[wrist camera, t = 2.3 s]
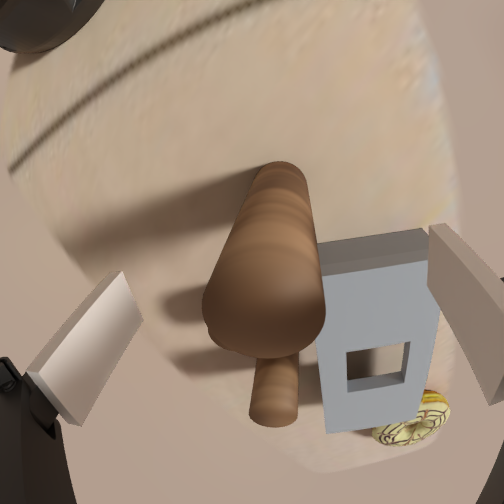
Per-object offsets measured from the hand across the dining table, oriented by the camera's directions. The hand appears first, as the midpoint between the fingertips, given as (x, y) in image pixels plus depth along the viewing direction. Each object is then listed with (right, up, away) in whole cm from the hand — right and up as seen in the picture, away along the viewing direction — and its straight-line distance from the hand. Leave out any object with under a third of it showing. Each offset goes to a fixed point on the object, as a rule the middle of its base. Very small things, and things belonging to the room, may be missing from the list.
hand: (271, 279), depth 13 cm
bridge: (+10, -7, +16) cm, 20 cm away
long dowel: (+1, +6, +11) cm, 12 cm away
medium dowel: (+2, -9, +18) cm, 20 cm away
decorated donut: (+20, -20, +22) cm, 35 cm away
